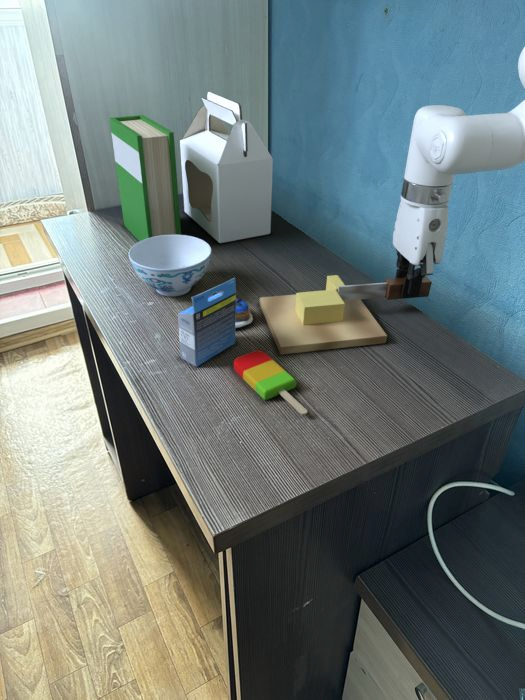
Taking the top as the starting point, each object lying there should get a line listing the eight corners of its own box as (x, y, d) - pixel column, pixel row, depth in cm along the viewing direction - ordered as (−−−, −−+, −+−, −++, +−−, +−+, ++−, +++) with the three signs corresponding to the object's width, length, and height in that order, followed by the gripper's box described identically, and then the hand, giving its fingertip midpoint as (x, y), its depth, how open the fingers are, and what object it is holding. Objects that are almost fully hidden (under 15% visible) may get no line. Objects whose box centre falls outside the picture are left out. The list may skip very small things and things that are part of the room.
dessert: (263, 312, 91) (250, 295, 86) (246, 344, 90) (231, 329, 85) (228, 301, 95) (214, 284, 90) (211, 331, 94) (195, 316, 89)
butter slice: (335, 291, 97) (337, 274, 94) (344, 305, 93) (347, 287, 91) (325, 292, 96) (327, 275, 94) (334, 306, 92) (336, 288, 90)
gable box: (183, 211, 132) (175, 90, 116) (230, 204, 137) (229, 87, 121) (219, 244, 116) (216, 109, 100) (271, 234, 122) (275, 104, 105)
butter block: (333, 306, 92) (335, 289, 90) (342, 321, 88) (344, 303, 86) (295, 310, 91) (296, 292, 89) (303, 325, 87) (304, 307, 85)
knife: (422, 290, 95) (425, 275, 94) (428, 296, 93) (432, 281, 92) (334, 297, 92) (336, 282, 90) (339, 304, 90) (341, 288, 88)
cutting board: (352, 296, 98) (353, 289, 98) (385, 343, 86) (387, 335, 85) (259, 304, 95) (259, 297, 94) (280, 354, 82) (280, 347, 82)
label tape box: (219, 335, 87) (217, 268, 79) (237, 344, 84) (236, 277, 77) (179, 358, 81) (173, 288, 74) (197, 369, 79) (192, 298, 72)
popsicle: (260, 357, 82) (260, 347, 81) (320, 411, 72) (322, 401, 71) (230, 368, 79) (230, 358, 78) (288, 426, 69) (289, 416, 68)
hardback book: (182, 246, 115) (173, 132, 101) (150, 253, 112) (137, 136, 98) (153, 220, 127) (142, 114, 113) (124, 225, 124) (109, 117, 110)
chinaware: (228, 286, 100) (228, 249, 96) (171, 317, 91) (167, 277, 86) (175, 263, 108) (172, 228, 104) (117, 289, 98) (111, 252, 94)
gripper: (474, 206, 77) (446, 313, 88) (424, 175, 90) (405, 271, 100) (427, 209, 76) (405, 317, 86) (383, 177, 89) (369, 274, 99)
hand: (405, 292), depth 93 cm, fingers closed on knife, 2 cm apart
